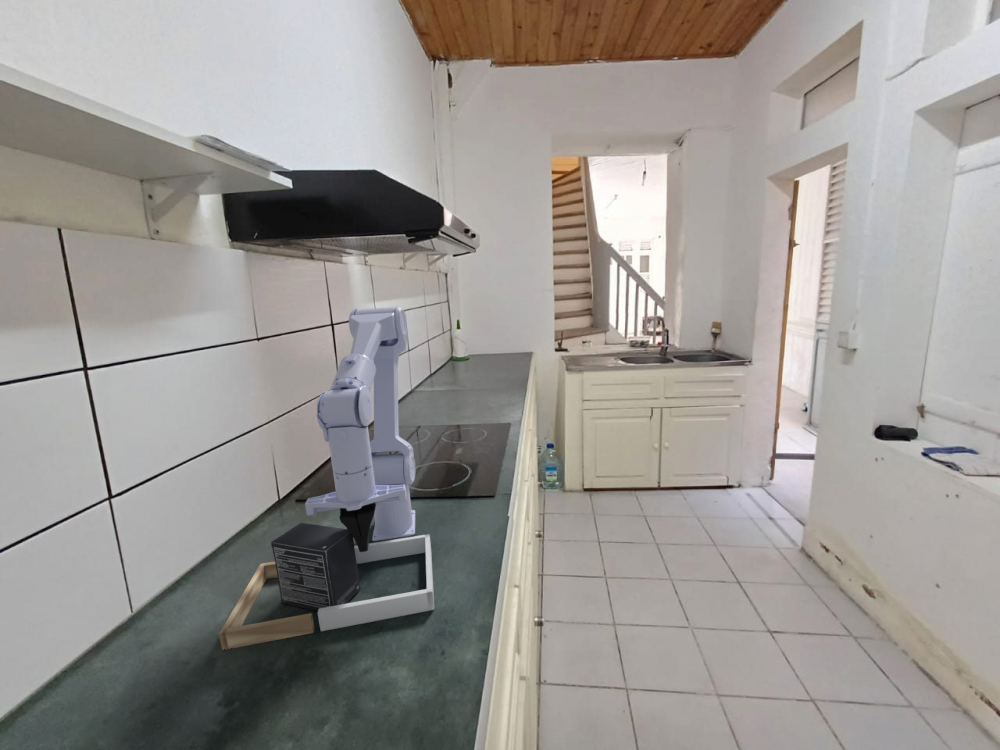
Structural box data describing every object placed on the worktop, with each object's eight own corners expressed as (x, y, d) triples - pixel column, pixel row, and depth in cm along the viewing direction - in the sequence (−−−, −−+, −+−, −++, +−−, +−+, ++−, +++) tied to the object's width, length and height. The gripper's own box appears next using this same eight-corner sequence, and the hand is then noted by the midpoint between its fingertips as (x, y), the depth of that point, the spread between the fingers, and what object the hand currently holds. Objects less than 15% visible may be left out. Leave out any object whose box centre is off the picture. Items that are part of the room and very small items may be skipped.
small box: (363, 587, 68) (355, 527, 66) (335, 617, 62) (325, 552, 60) (311, 577, 71) (301, 519, 69) (279, 604, 65) (268, 542, 63)
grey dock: (340, 564, 74) (338, 548, 74) (431, 548, 77) (429, 533, 77) (320, 631, 59) (317, 612, 59) (434, 609, 62) (432, 591, 61)
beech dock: (263, 576, 72) (260, 563, 72) (334, 565, 74) (332, 552, 74) (222, 650, 57) (218, 634, 57) (313, 632, 59) (310, 617, 59)
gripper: (294, 484, 59) (309, 572, 61) (401, 470, 61) (410, 554, 64) (307, 465, 66) (319, 545, 68) (402, 453, 68) (411, 530, 71)
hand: (364, 548), depth 67 cm, fingers closed
